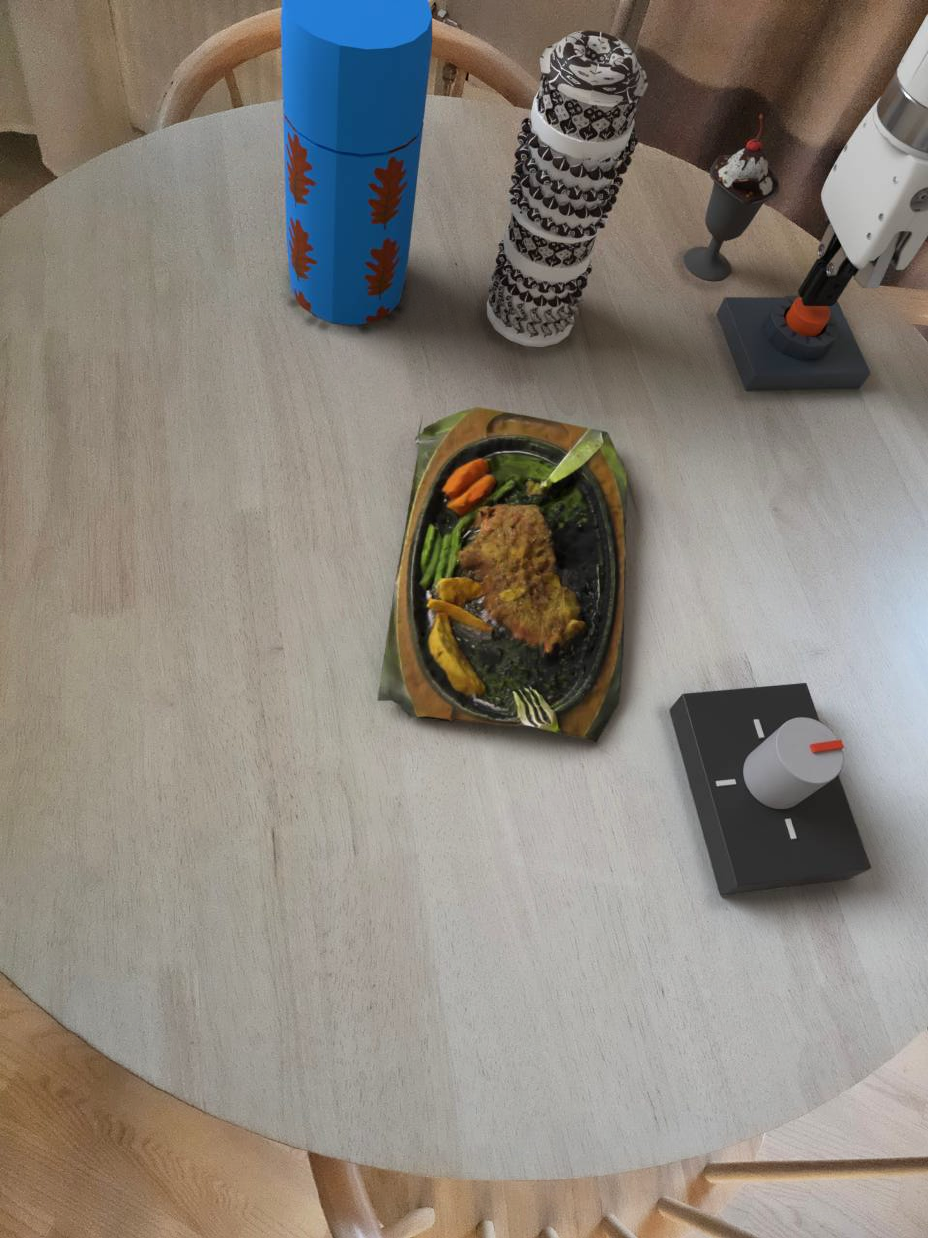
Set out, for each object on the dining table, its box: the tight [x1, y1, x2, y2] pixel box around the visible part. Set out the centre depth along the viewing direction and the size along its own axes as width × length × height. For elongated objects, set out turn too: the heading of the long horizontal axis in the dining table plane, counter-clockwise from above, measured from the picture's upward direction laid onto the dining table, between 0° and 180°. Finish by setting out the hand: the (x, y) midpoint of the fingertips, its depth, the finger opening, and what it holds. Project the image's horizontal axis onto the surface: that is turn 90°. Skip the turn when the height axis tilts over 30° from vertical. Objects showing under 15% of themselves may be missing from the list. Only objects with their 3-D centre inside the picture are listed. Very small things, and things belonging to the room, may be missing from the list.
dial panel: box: [669, 682, 872, 897], centre depth 68 cm, size 14×10×3 cm
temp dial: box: [743, 717, 845, 809], centre depth 64 cm, size 5×5×6 cm
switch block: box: [716, 295, 872, 392], centre depth 91 cm, size 12×10×4 cm
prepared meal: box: [377, 406, 628, 744], centre depth 74 cm, size 28×4×18 cm
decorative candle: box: [486, 29, 649, 348], centre depth 79 cm, size 9×9×25 cm
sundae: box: [683, 113, 780, 282], centre depth 90 cm, size 7×7×15 cm
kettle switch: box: [786, 297, 830, 337], centre depth 89 cm, size 4×4×2 cm
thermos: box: [280, 0, 433, 326], centre depth 77 cm, size 11×11×25 cm
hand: (815, 299), depth 87 cm, fingers closed
